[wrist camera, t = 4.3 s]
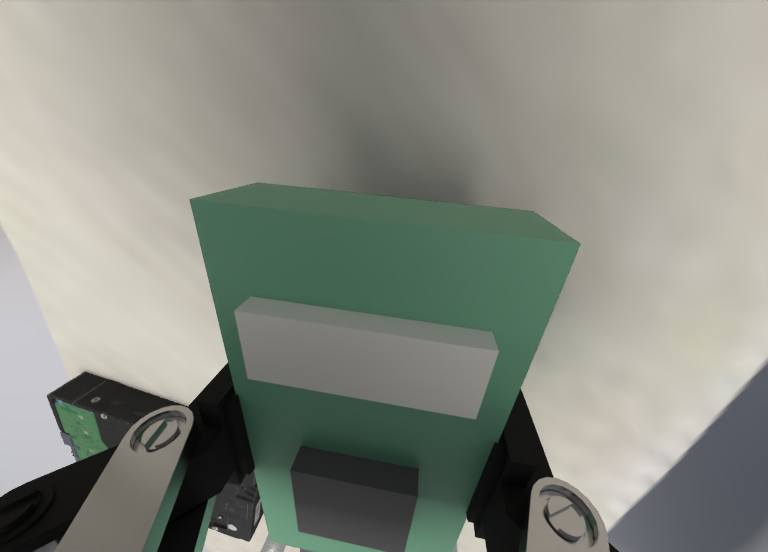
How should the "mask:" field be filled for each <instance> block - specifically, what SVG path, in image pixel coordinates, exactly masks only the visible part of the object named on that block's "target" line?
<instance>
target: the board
mask: <svg viewBox="0 0 768 552" xmlns="http://www.w3.org/2000/svg"><path fill="white" fill-rule="evenodd" d="M190 203H191V207H192V211H193V216H194V220H195V224H196V228H197V233H198V237H199V241H200V245H201V249H202V254H203V258H204V262H205V266H206V271H207V275H208V279H209V283H210V288H211V292H212V296H213V300H214V304H215V309H216V313H217V317H218V321H219V326H220V330H221V334H222V338H223V342H224V347H225V351H226V355H227V359H228V364H229V368H230V372H231V376H232V381H233V385H234V389H235V393H236V394H237V395H238V396H239V400H240V404H241V409H242V413H243V417H244V422H245V426H246V430H247V435H248V439H249V443H250V448H251V452H252V456H253V461H254V465H255V469H254V473H255V478H256V482H257V486H258V490H259V495H260V499H261V503H262V507H263V512H264V516H265V520H266V524H267V528H268V533H269V537H270V541H271V542H276V543H280V544H284V545H288V546H292V547H297V548H301V549H305V550H309V551H314V552H453V549H454V547H455V545H456V542H457V540H458V537H459V535H460V532H461V530H462V528H463V525H464V523H465V520H466V518H467V516H466V511H467V509H468V506H469V504H470V501H471V499H472V496H473V494H474V492H475V489H476V487H477V484H478V482H479V479H480V477H481V474H482V472H483V469H484V467H485V465H486V462H487V460H488V457H489V455H490V452H491V450H492V447H493V445H494V442H496V443H498V441H499V439H500V436H501V434H502V432H503V429H504V427H505V424H506V422H507V420H508V417H509V415H510V412H511V410H512V408H513V405H514V403H515V400H516V398H517V396H518V393H519V391H520V388H521V386H522V384H523V381H524V379H525V376H526V374H527V372H528V369H529V367H530V364H531V362H532V360H533V357H534V355H535V352H536V350H537V348H538V345H539V343H540V340H541V338H542V335H543V333H544V331H545V328H546V326H547V323H548V321H549V319H550V316H551V314H552V311H553V309H554V307H555V304H556V302H557V299H558V297H559V295H560V292H561V290H562V287H563V285H564V283H565V280H566V278H567V275H568V273H569V271H570V268H571V266H572V263H573V261H574V259H575V256H576V254H577V251H578V249H579V247H580V243H579V242H577V241H576V240H574V239H573V238H572V237H570V236H569V235H567V234H566V233H564V232H563V231H561V230H560V229H558V228H557V227H555V226H554V225H553V224H551V223H550V222H548V221H547V220H545V219H544V218H542V217H541V216H539V215H538V214H536V213H535V212H533V211H525V210H515V209H506V208H496V207H486V206H477V205H467V204H458V203H448V202H439V201H429V200H419V199H410V198H400V197H391V196H381V195H372V194H362V193H352V192H343V191H333V190H324V189H314V188H305V187H295V186H286V185H276V184H266V183H254V184H250V185H246V186H242V187H238V188H234V189H230V190H225V191H221V192H217V193H213V194H209V195H205V196H201V197H197V198H193V199H190Z"/></svg>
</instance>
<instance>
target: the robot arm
mask: <svg viewBox="0 0 768 552" xmlns="http://www.w3.org/2000/svg"><path fill="white" fill-rule="evenodd" d="M254 469H255V465H254V461H253V456H252V452H251V448H250V443H249V439H248V435H247V430H246V426H245V422H244V417H243V413H242V409H241V404H240V400H239V396H238V395H237V394H236V393H235V389H234V385H233V381H232V376H231V372H230V368H229V364H228V363H227V364H226V365H225V366H224V367H223V369H222V370H221V371H220V372H219V373H218V374H217V375H216V376H215V377H214V378H213V380H212V381H211V382H210V383H209V384H208V385H207V386H206V387H205V388H204V390H203V391H202V392H201V393H200V394H199V395H198V396H197V397H196V398H195V399H194V401H193V402H192V403H191V404H190V405H189V406H188V407H184V406H181V405H179V406H168V407H164V408H160V409H158V410H156V411H153V412H151V413H149V414H148V415H146V416H145V417H143V418H141V419H140V420H139V421H138V422H137V423H135V424H134V425H133V426H132V427H131V428H130V430H129V431H128V432H127V433H126V435H125V436H124V438H123V439H122V441H121V443H120V444H119V445H116V446H114V447H112V448H109V449H107V450H104V451H102V452H99V453H97V454H95V455H92V456H90V457H87V458H85V459H83V460H80V461H78V462H75V463H73V464H71V465H68V466H66V467H63V468H61V469H59V470H56V471H54V472H52V473H49V474H47V475H44V476H42V477H39V478H37V479H34V480H32V481H30V482H27V483H25V484H23V485H21V486H19V487H17V488H15V489H13V490H11V491H9V492H8V493H6V494H5V495H3V496H2V497H0V552H202V550H203V546H204V542H205V539H206V535H207V531H208V527H209V523H210V519H211V515H212V511H213V507H214V504H215V500H216V496H217V494H219V493H221V491H222V490H223V488H224V486H225V485H226V483H231V484H235V485H241V483H242V481H243V479H244V477H245V476H246V474H248V475H250V474H251V473H252V472H253V471H254ZM466 516H467V520H468V522H472V523H474V531H475V537H477V538H482V539H485V541H486V549H487V552H619V551H618V550H617V549H615V548H614V547H613V546H612V545H611V544H610V543H609V542H608V536H607V532H606V528H605V525H604V522H603V520H602V519H601V517H600V515H599V513H598V511H597V510H596V508H595V507H594V506H593V505H592V503H591V502H590V501H589V499H588V498H587V497H585V496H584V495H583V494H582V493H581V492H580V491H579V490H578V489H576V488H575V487H573V486H572V485H570V484H569V483H567V482H565V481H562V480H560V479H557V478H554V477H553V475H552V472H551V469H550V466H549V464H548V461H547V458H546V456H545V453H544V450H543V447H542V445H541V442H540V439H539V437H538V434H537V431H536V428H535V426H534V423H533V420H532V417H531V415H530V412H529V409H528V407H527V404H526V401H525V398H524V396H523V393H522V391H521V389H520V391H519V393H518V396H517V398H516V400H515V403H514V405H513V408H512V410H511V412H510V415H509V417H508V420H507V422H506V424H505V427H504V429H503V432H502V434H501V436H500V439H499V441H498V443H496V442H494V445H493V447H492V450H491V452H490V455H489V457H488V460H487V462H486V465H485V467H484V469H483V472H482V474H481V477H480V479H479V482H478V484H477V487H476V489H475V492H474V494H473V496H472V499H471V501H470V504H469V506H468V509H467V511H466Z"/></svg>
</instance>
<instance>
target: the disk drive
mask: <svg viewBox="0 0 768 552" xmlns="http://www.w3.org/2000/svg"><path fill="white" fill-rule="evenodd" d="M47 398H48V400H49V402H50V406H51V408H52V410H53V414H54V416H55V419H56V422H57V424H58V427H59V429H60V430H61V432H60V434H61V437H62V439H63V441H64V444H67V445H69V446H71V449H72V453H73V456H74V457H75V459H76V462H78V461H80V460H83V459H85V458H87V457H90V456H92V455H95V454H97V453H99V452H102V451H104V450H107V449H109V448H112V447H114V446H116V445H119V444H120V443H121V441H122V439H123V438H124V436H125V435H126V433H127V432H128V431H129V430H130V428H131V427H132V426H133V425H134V424H135V423H137V422H138V421H139V420H140V419H141V418H143V417H145V416H146V415H148V414H149V413H151V412H153V411H156V410H158V409H160V408H164V407H168V406H179V405H181V406H184V405H182V404H178V403H175V402H172V401H170V400H167V399H164V398H160V397H158V396H155V395H152V394H149V393H146V392H143V391H140V390H137V389H134V388H131V387H128V386H126V385H123V384H121V383H119V382H115V381H112V380H109V379H105V378H102V377H99V376H97V375H94V374H90V373H88V372H84V373H82V374H81V375H79V376H77V377H76V378H74V379H72V380H70V381H69V382H67V383H66V384H64V385H62V386H61V387H59V388H58V389H56V390H55V391H53V392H51V393H50V394H48V395H47ZM184 407H187V406H184ZM263 513H264V512H263V507H262V503H261V499H260V495H259V490H258V486H257V482H256V478H255V473H254V471H253V472H252V473H251V474H250V475H248V474H246V476H245V477H244V479H243V481H242V483H241V485H235V484H231V483H226V485H225V486H224V488H223V490H222V491H221V493H219V494H217V496H216V500H215V504H214V507H213V511H212V515H211V519H210V523H209V527H208V528H210V529H213V530H216V531H218V532H221V533H223V534H226V535H229V536H231V537H235V538H238V539H243V540H245V541H248V542H249V541H250V540H251V538H252V536H253V534H254V532H255V530H256V528H257V526H258V524H259V522H260V519H261V517H262V515H263Z"/></svg>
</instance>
